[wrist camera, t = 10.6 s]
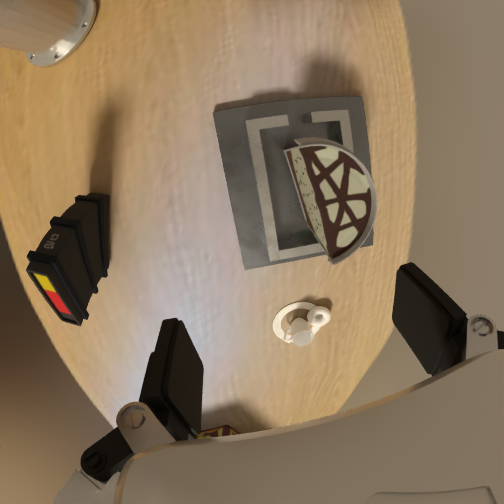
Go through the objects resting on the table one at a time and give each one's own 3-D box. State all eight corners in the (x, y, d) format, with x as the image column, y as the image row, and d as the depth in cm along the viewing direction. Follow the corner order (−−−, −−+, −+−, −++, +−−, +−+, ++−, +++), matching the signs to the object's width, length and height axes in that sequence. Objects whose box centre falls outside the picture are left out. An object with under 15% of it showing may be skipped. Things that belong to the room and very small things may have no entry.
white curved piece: (330, 298, 41) (338, 314, 37) (322, 337, 44) (329, 353, 40) (273, 301, 40) (277, 318, 36) (271, 341, 43) (274, 358, 40)
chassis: (213, 112, 29) (210, 110, 25) (358, 97, 28) (371, 94, 25) (244, 266, 37) (245, 279, 34) (370, 242, 37) (381, 252, 34)
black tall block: (108, 172, 29) (49, 273, 19) (121, 244, 39) (89, 334, 29) (83, 169, 28) (21, 266, 18) (99, 240, 38) (65, 327, 28)
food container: (352, 217, 34) (389, 249, 25) (308, 233, 34) (334, 270, 25) (328, 124, 29) (366, 123, 20) (279, 138, 29) (299, 140, 20)
